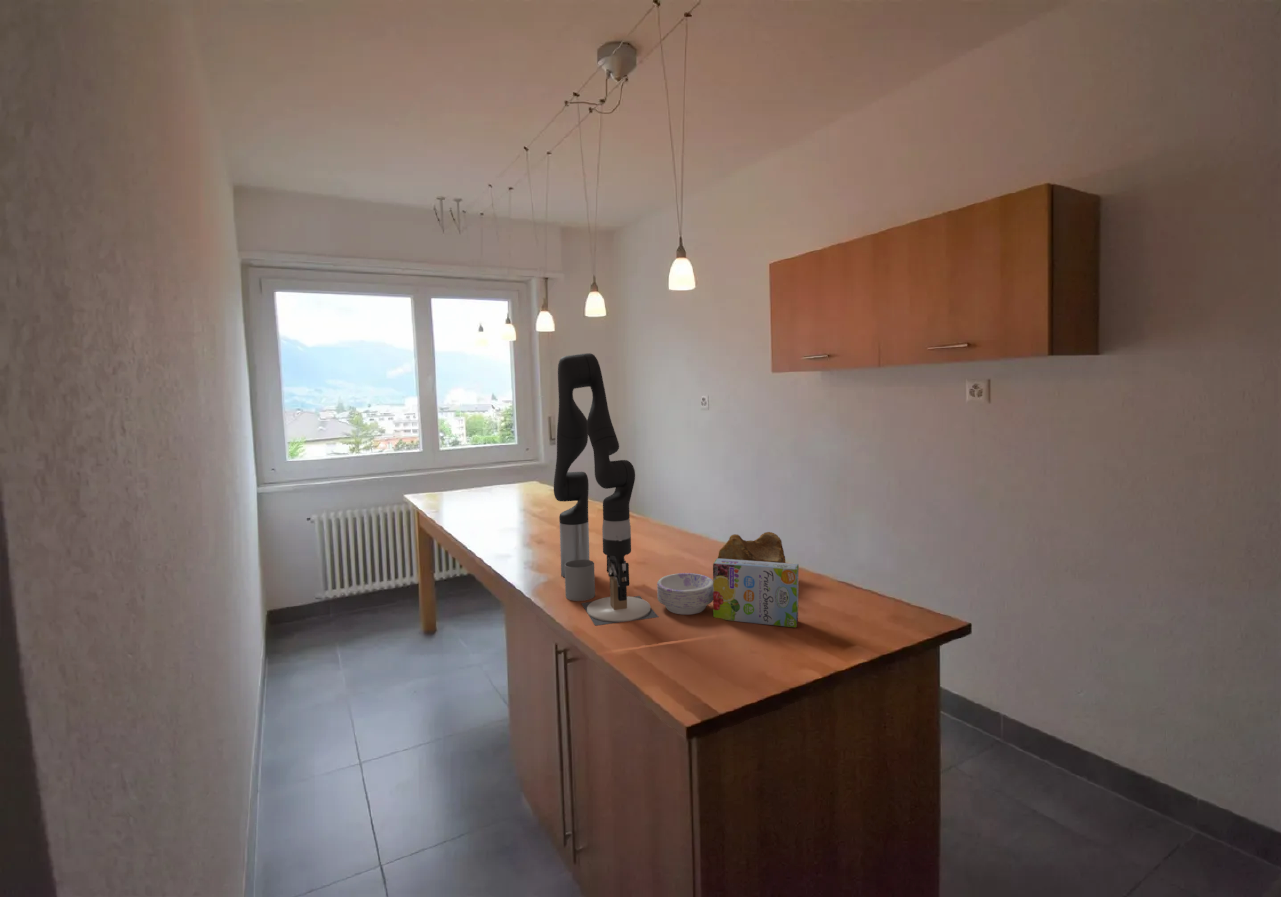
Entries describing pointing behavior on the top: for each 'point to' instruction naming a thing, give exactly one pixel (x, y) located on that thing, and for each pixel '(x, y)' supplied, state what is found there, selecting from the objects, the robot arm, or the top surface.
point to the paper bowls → (685, 592)
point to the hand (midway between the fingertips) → (618, 595)
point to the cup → (579, 580)
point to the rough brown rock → (754, 549)
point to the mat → (600, 622)
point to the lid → (618, 606)
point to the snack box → (756, 592)
